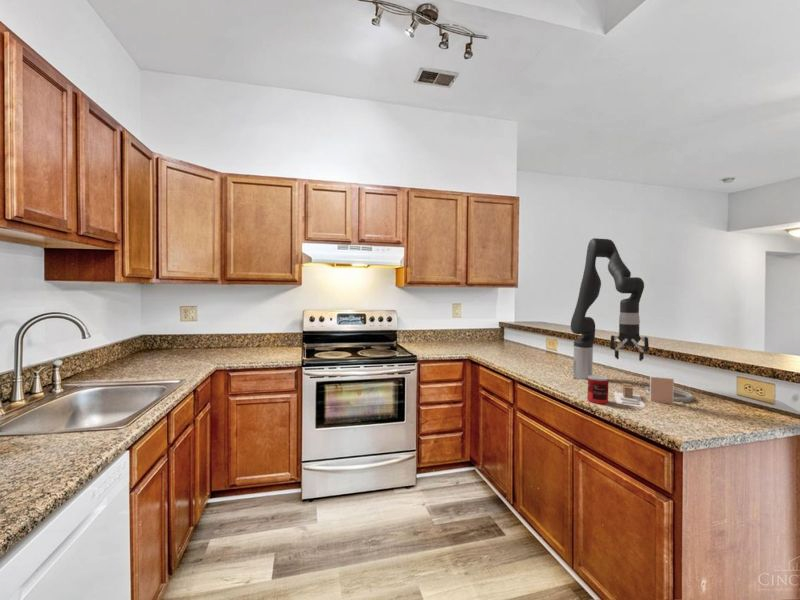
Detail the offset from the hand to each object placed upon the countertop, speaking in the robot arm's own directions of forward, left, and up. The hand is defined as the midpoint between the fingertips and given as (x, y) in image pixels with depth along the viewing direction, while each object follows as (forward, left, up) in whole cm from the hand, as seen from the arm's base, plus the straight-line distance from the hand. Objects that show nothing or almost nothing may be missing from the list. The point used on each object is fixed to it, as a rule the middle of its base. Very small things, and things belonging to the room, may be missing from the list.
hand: (628, 359), depth 160 cm
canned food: (-12, -12, -18) cm, 24 cm away
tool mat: (0, -2, -17) cm, 17 cm away
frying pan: (+14, +16, -18) cm, 28 cm away
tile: (+12, -1, -17) cm, 21 cm away
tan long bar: (0, -2, -17) cm, 17 cm away
